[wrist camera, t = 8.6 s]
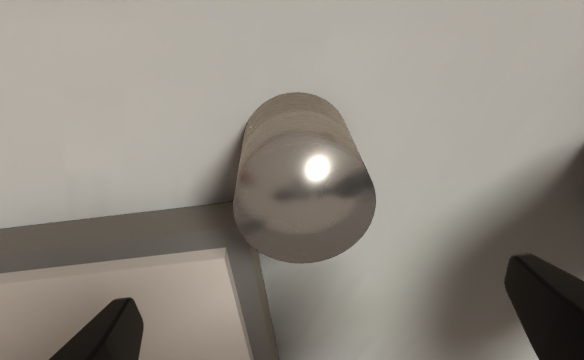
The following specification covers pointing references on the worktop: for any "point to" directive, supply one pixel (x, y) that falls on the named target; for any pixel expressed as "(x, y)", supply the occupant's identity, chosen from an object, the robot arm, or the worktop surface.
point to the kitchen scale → (137, 284)
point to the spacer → (301, 181)
